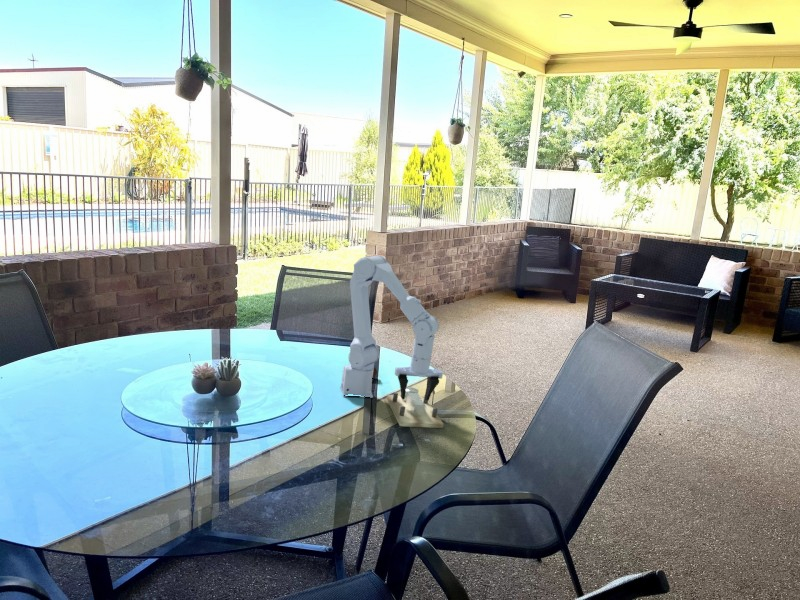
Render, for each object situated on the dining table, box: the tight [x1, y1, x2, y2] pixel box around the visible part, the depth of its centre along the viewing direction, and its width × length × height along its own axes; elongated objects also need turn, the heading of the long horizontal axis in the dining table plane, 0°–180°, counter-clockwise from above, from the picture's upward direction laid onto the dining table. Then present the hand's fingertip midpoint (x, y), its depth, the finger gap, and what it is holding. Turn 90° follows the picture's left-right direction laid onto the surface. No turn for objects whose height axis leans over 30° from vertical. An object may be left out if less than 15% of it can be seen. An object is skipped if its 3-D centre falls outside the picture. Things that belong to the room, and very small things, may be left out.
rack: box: [386, 392, 445, 429], centre depth 176 cm, size 13×20×4 cm, turn 13°
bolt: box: [372, 364, 378, 379], centre depth 206 cm, size 6×5×15 cm
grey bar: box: [402, 386, 425, 416], centre depth 178 cm, size 5×14×4 cm, turn 13°
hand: (414, 398), depth 177 cm, fingers open, 7 cm apart
